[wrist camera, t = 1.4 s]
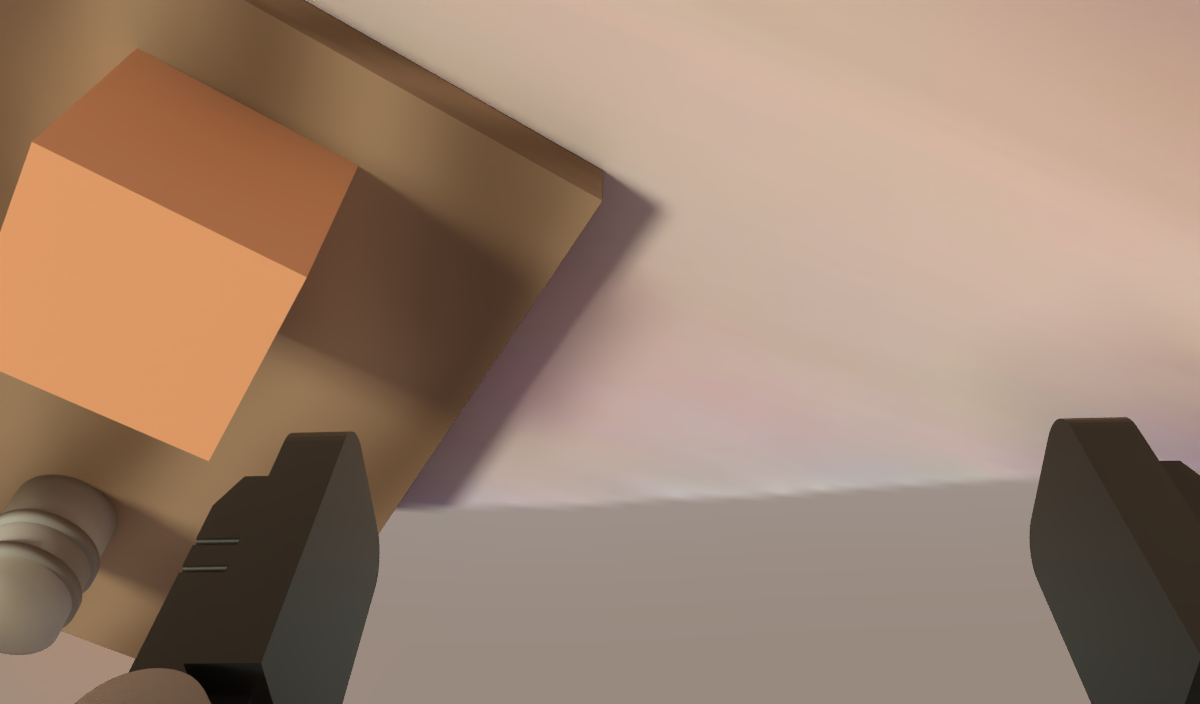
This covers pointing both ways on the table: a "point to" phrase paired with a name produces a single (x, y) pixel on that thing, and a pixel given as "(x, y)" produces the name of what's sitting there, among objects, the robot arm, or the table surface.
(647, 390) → the table surface
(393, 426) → the base plate
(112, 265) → the orange cube
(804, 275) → the table surface
